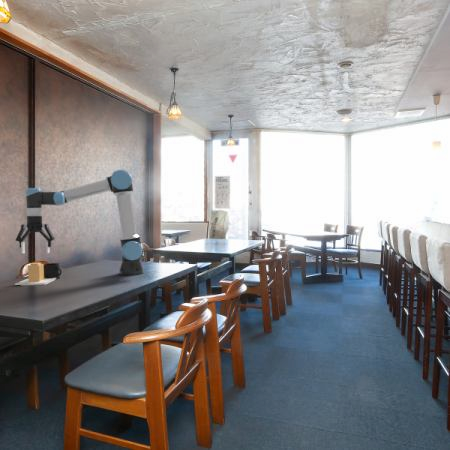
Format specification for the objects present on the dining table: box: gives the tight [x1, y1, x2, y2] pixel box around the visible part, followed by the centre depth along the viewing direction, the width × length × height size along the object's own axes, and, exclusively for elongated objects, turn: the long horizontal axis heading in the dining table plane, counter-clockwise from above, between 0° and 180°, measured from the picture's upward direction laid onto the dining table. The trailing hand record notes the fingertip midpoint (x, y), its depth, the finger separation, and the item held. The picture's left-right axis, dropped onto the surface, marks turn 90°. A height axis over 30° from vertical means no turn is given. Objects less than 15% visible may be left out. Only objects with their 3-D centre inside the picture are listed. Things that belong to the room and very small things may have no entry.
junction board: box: [14, 278, 57, 286], centre depth 211 cm, size 16×20×7 cm
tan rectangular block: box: [27, 262, 44, 282], centre depth 210 cm, size 6×6×10 cm
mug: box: [42, 262, 63, 280], centre depth 221 cm, size 9×12×9 cm
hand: (35, 253), depth 209 cm, fingers open, 13 cm apart
